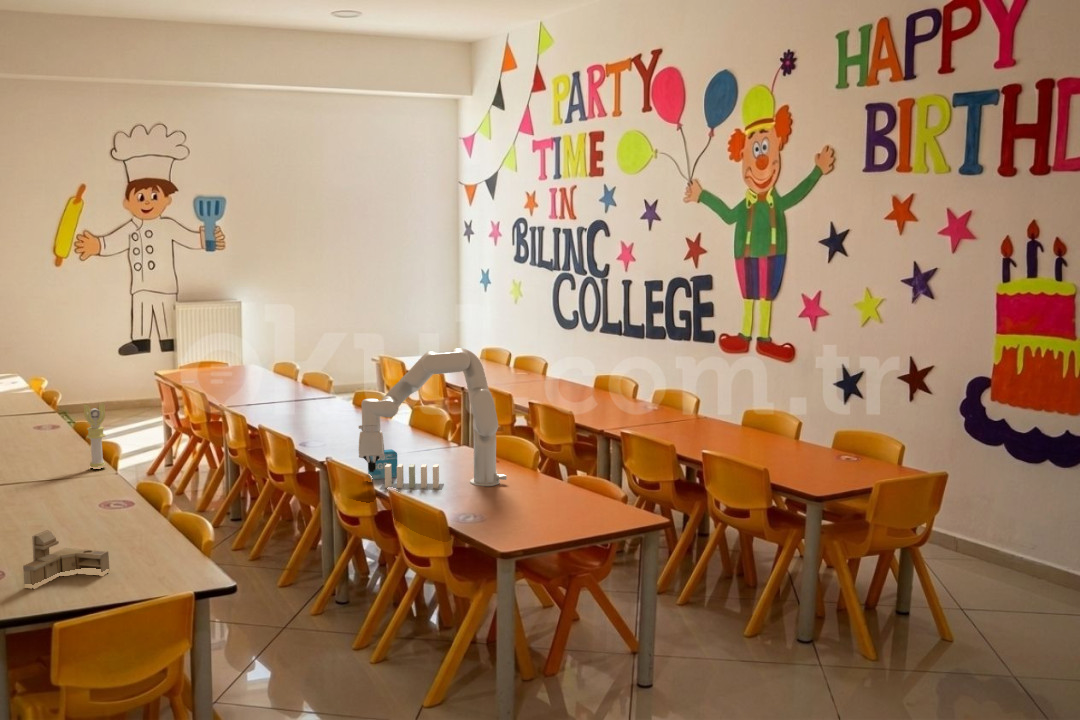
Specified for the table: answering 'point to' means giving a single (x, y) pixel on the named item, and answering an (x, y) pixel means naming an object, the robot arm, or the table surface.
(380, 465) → the data package
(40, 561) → the toy kitchen set
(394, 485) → the domino mat
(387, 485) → the domino
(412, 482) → the domino
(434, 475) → the domino
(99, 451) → the trophy
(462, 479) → the table surface
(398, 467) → the domino
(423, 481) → the domino
